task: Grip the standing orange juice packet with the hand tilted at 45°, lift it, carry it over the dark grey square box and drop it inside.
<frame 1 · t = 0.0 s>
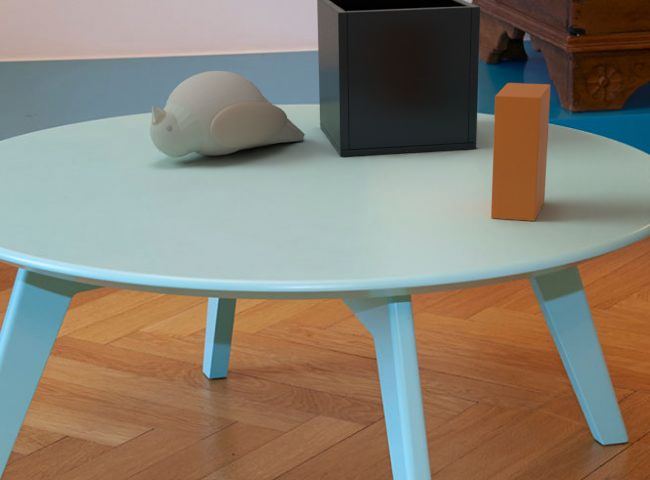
packet: (518, 210, 85), on the table
decorative bird: (229, 154, 105), on the table
dark grey square box: (394, 137, 109), on the table
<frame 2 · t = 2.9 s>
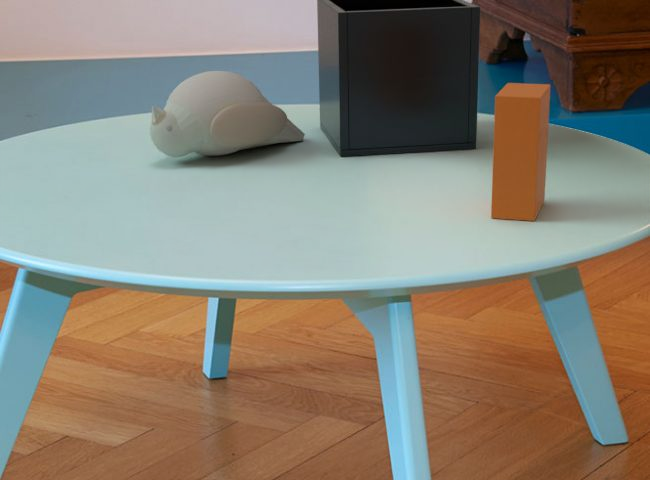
nothing on the table moved.
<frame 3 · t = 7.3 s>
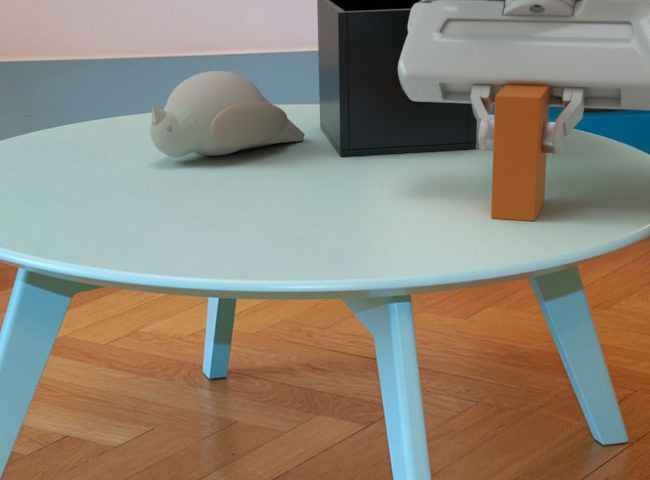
hand: (519, 148, 83), 5 cm above the table, tool tilted 45°, fingers closed on packet, 3 cm apart
packet: (518, 210, 85), on the table, touching gripper
everything else where it was.
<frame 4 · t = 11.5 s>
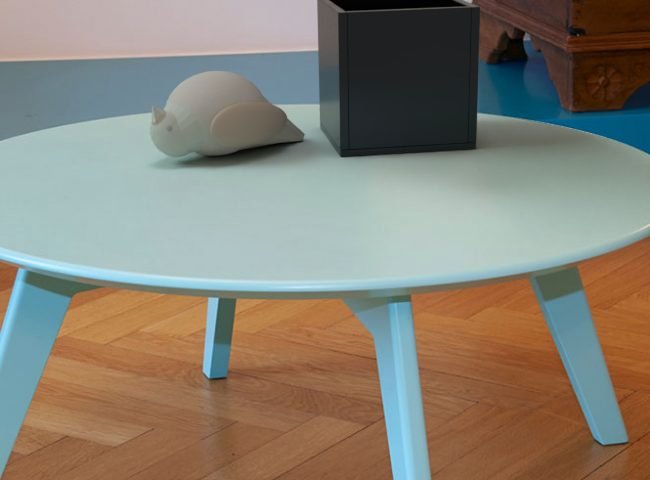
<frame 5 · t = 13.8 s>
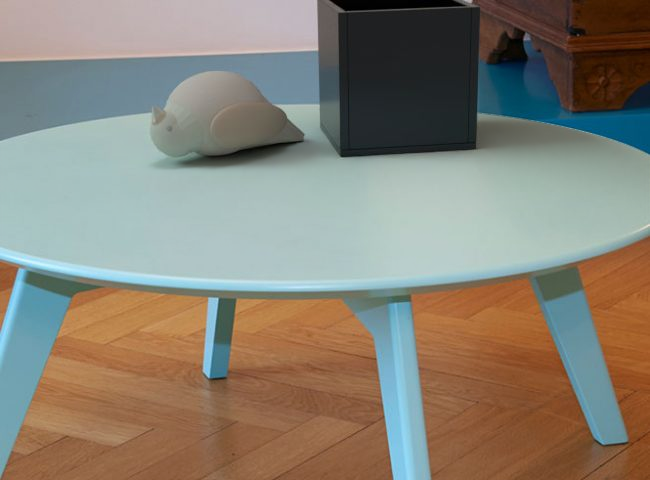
when the fingers open (19 cm above the table, at t = 15.8 s): packet drops 14 cm, resting on dark grey square box.
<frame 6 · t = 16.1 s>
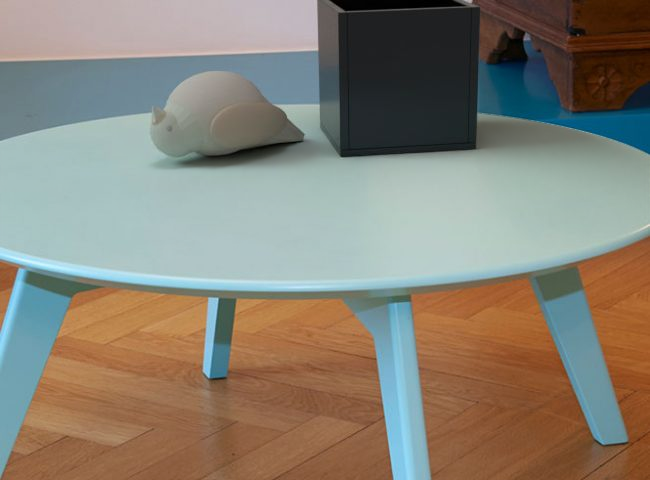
packet: (395, 131, 108), point 1 cm above the table, touching dark grey square box
everything else where it was.
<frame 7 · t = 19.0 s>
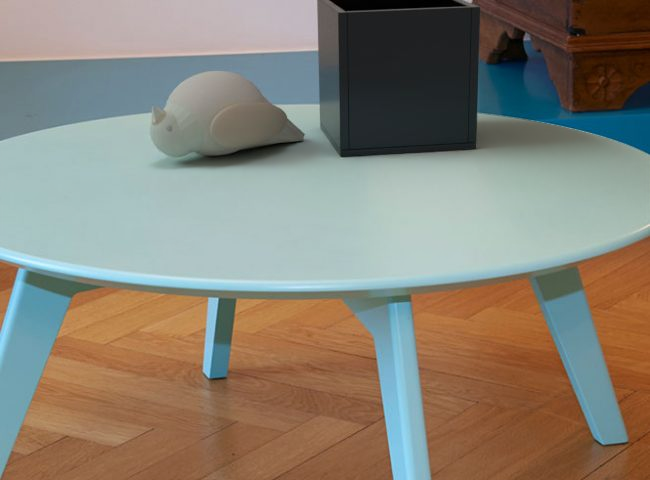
nothing on the table moved.
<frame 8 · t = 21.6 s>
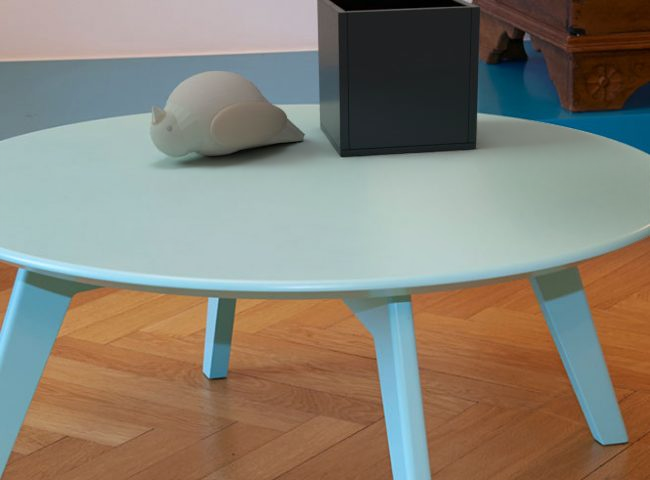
nothing on the table moved.
at the end: packet inside the target area in the dark grey square box (0.1 cm from its centre), point 0.6 cm above the dark grey square box's base; the gripper is holding nothing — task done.
